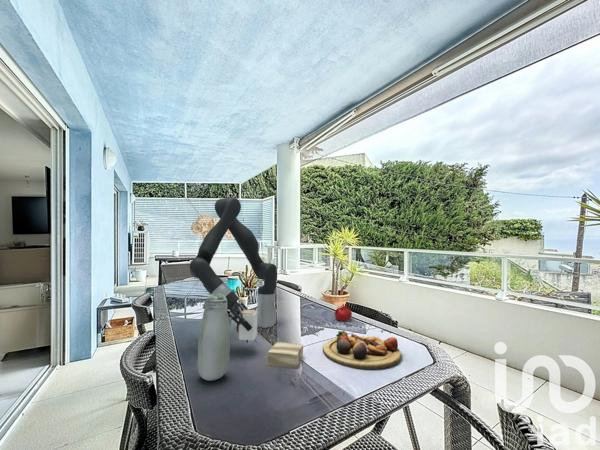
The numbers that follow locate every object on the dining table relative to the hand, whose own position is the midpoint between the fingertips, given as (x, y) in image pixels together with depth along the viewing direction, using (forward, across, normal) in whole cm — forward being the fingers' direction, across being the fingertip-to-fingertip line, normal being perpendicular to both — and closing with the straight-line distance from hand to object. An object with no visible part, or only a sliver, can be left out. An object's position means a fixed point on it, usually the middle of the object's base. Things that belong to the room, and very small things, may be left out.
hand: (252, 326), depth 119 cm
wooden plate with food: (+40, +7, -23) cm, 47 cm away
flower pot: (-6, +13, +21) cm, 26 cm away
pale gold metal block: (+18, -5, -2) cm, 19 cm away
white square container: (+2, 0, +4) cm, 5 cm away
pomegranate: (+37, +54, -20) cm, 69 cm away
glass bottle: (+2, -22, +13) cm, 26 cm away
